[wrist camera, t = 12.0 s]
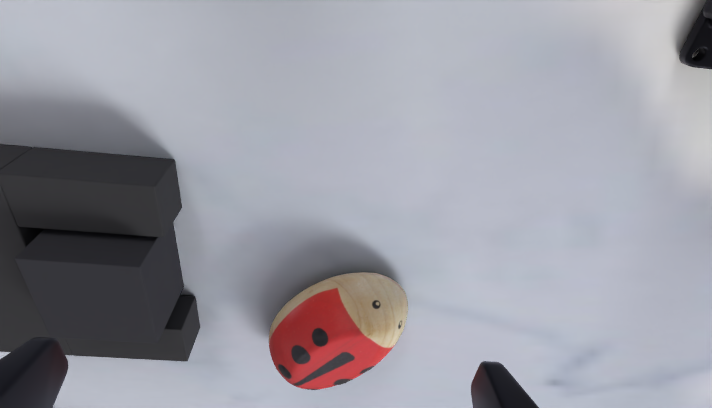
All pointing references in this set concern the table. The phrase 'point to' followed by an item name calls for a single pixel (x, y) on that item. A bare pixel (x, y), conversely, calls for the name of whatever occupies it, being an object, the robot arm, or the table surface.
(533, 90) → the table surface
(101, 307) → the black block
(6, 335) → the notched pad
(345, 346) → the ladybug figurine
